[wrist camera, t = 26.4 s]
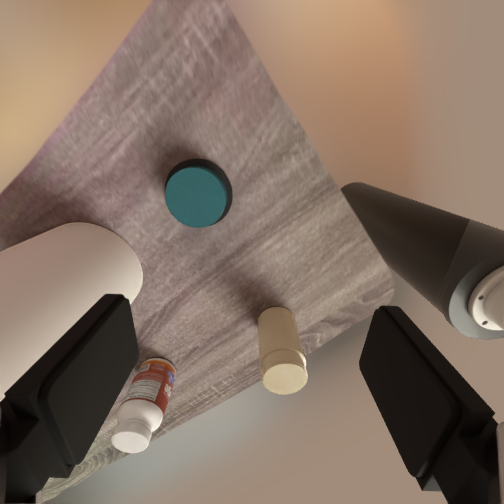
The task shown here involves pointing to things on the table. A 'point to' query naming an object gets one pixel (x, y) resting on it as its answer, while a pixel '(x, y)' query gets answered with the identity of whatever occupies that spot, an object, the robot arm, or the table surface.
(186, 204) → the jar lid
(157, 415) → the pill bottle
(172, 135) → the table surface
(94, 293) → the canister
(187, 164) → the coaster
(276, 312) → the jar
